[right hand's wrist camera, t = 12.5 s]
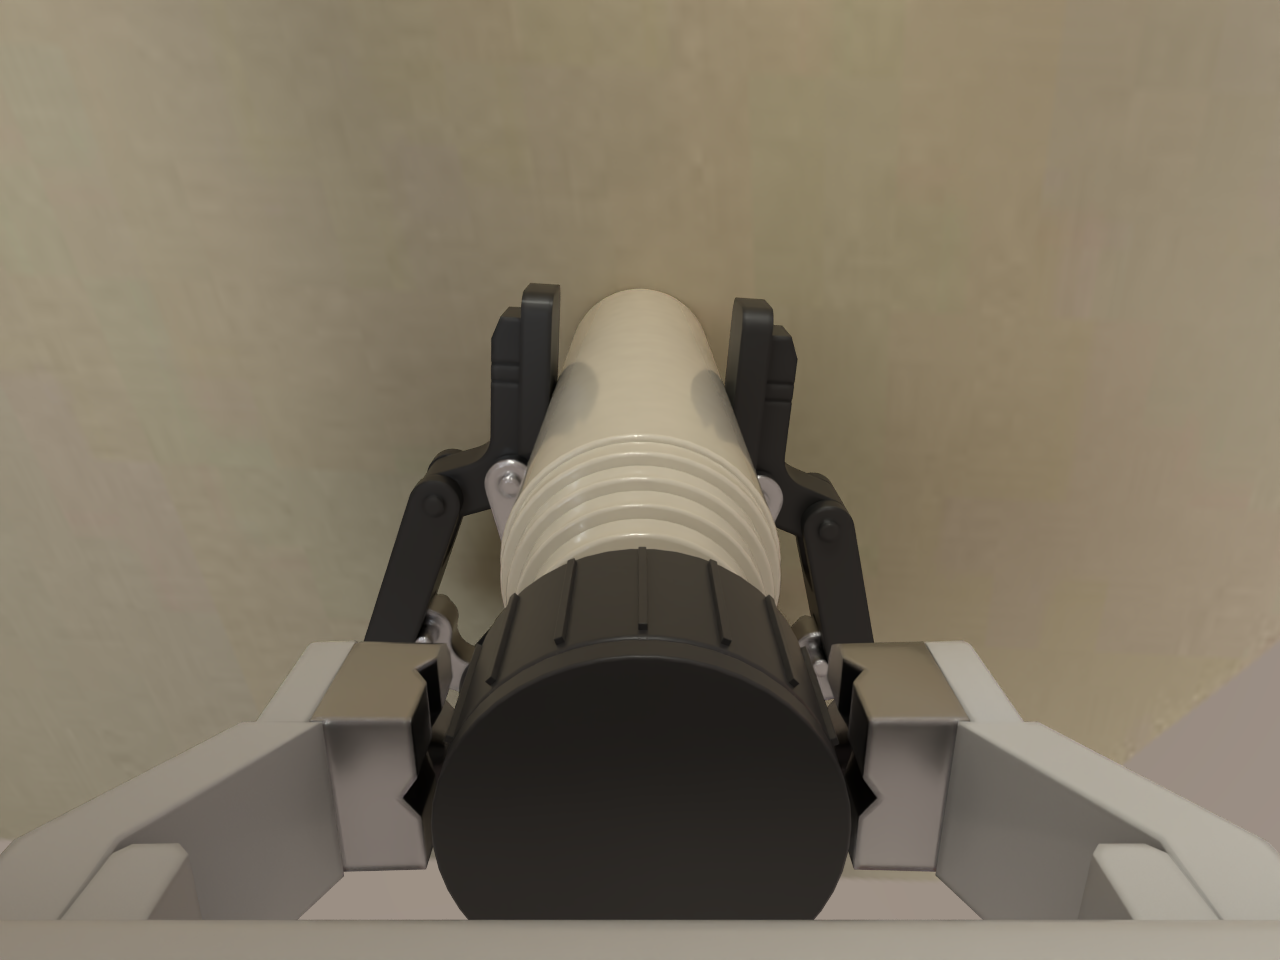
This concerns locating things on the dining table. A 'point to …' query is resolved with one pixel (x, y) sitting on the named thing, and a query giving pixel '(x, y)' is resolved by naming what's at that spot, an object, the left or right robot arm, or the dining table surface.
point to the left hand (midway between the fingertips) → (646, 299)
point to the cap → (641, 753)
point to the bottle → (640, 454)
